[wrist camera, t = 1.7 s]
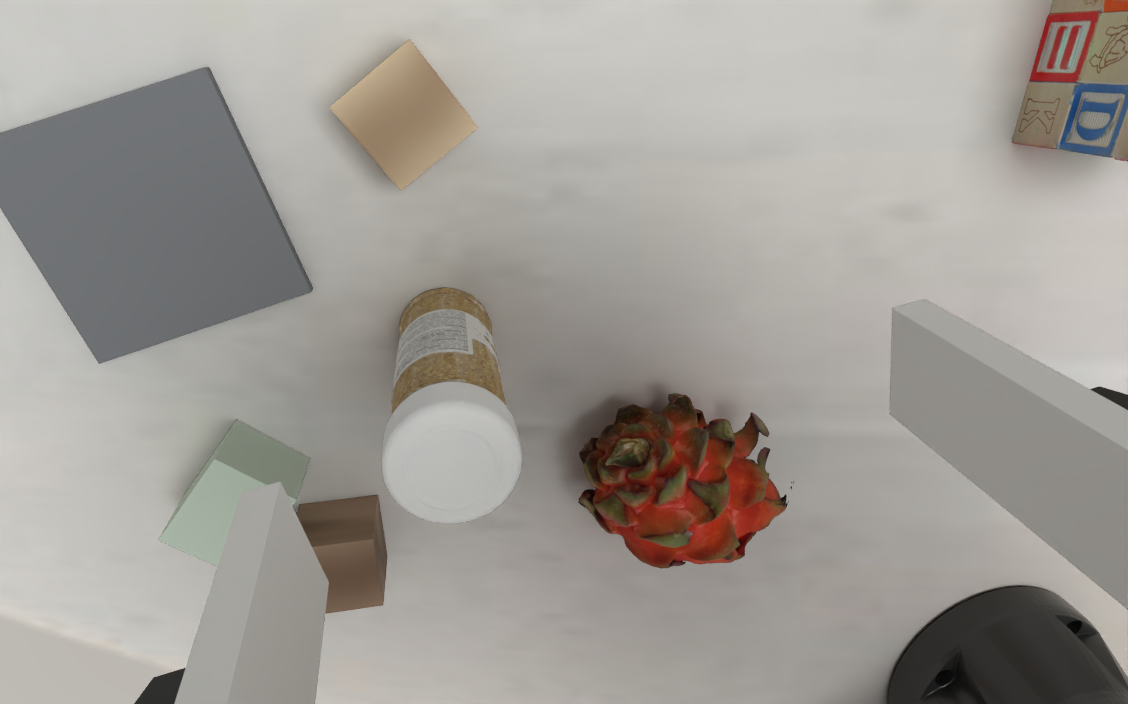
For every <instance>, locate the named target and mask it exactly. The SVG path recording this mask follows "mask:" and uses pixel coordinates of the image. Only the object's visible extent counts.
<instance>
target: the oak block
mask: <svg viewBox="0 0 1128 704" xmlns="http://www.w3.org/2000/svg"><path fill="white" fill-rule="evenodd" d="M329 108H330V109H331V110H332V111H333V113H334V114H335V115H336V116H337V117H338V118H339V120H340V121H341V122H342V123H343V124H344V125H345V127H346V128H347V129H348V130H349V131H350V132H351V134H352V135H353V136H354V137H355V138H356V139H357V141H358V142H359V143H360V144H361V145H362V146H363V148H364V149H365V150H366V151H367V152H368V153H369V155H370V156H371V157H372V158H373V159H374V160H375V162H376V163H377V164H378V165H379V166H380V167H381V169H382V170H383V171H384V172H385V173H386V174H387V176H388V177H389V178H390V179H391V180H392V181H393V183H394V184H395V185H396V186H397V187H398V188H399V190H400V191H401V190H403V189H404V188H405V187H406V186H408V185H409V184H410V183H411V182H412V181H414V180H415V179H416V178H417V177H419V176H420V175H421V174H422V173H423V172H425V171H426V170H427V169H428V168H430V167H431V166H432V165H433V164H434V163H436V162H437V161H438V160H439V159H440V158H442V157H443V156H444V155H445V154H447V153H448V152H449V151H450V150H451V149H453V148H454V147H455V146H456V145H458V144H459V143H460V142H461V141H462V140H464V139H465V138H466V137H467V136H469V135H470V134H471V133H472V132H473V131H475V130H476V129H477V128H478V127H477V125H476V124H475V123H474V121H473V120H472V119H471V118H470V116H469V115H468V114H467V112H466V111H465V110H464V108H463V107H462V106H461V105H460V103H459V102H458V101H457V99H456V98H455V97H454V95H453V94H452V93H451V92H450V90H449V89H448V88H447V86H446V85H445V84H444V82H443V81H442V80H441V79H440V77H439V76H438V75H437V73H436V72H435V71H434V69H433V68H432V67H431V66H430V64H429V63H428V62H427V60H426V59H425V58H424V56H423V55H422V54H421V53H420V51H419V50H418V49H417V47H416V46H415V45H414V43H413V42H412V41H411V40H410V39H409V40H408V41H407V42H406V43H405V44H404V45H402V46H401V47H400V48H399V49H398V50H396V51H395V52H394V53H393V54H392V55H390V56H389V57H388V58H387V59H386V60H385V61H383V62H382V63H381V64H380V65H379V66H377V67H376V68H375V69H374V70H373V71H372V72H370V73H369V74H368V75H367V76H366V77H364V78H363V79H362V80H361V81H360V82H359V83H357V84H356V85H355V86H354V87H353V88H351V89H350V90H349V91H348V92H347V93H346V94H344V95H343V96H342V97H341V98H340V99H338V100H337V101H336V102H335V103H334V104H333V105H331V106H330V107H329Z"/></svg>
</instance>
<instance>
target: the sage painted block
mask: <svg viewBox="0 0 1128 704" xmlns="http://www.w3.org/2000/svg"><path fill="white" fill-rule="evenodd" d="M309 460H310V457H308V456H306V455H304V454H302V453H300V452H298V451H296V450H295V449H293V448H291V447H289V446H287V445H285V444H283V443H281V442H279V441H277V440H275V439H274V438H272V437H270V436H268V435H266V434H264V433H262V432H260V431H258V430H256V429H255V428H253V427H251V426H249V425H247V424H245V423H243V422H241V421H239V420H236V421H235V423H234V424H233V425H232V427H231V428H230V430H229V431H228V433H227V434H226V436H225V437H224V438H223V440H222V441H221V443H220V444H219V446H218V447H217V448H216V450H215V451H214V453H213V454H212V456H211V457H210V458H209V460H208V461H207V463H206V464H205V466H204V467H203V469H202V470H201V471H200V473H199V474H198V476H197V477H196V479H195V480H194V481H193V483H192V484H191V486H190V487H189V489H188V490H187V491H186V493H185V495H184V496H183V498H182V500H181V501H180V503H179V505H178V507H177V508H176V510H175V512H174V514H173V515H172V517H171V519H170V520H169V522H168V524H167V526H166V527H165V529H164V531H163V533H162V534H161V536H160V538H159V539H158V540H159V541H161V542H163V543H165V544H168V545H170V546H172V547H174V548H177V549H179V550H181V551H183V552H186V553H188V554H190V555H192V556H195V557H197V558H199V559H201V560H204V561H206V562H208V563H210V564H213V565H215V566H217V567H218V564H219V561H220V558H221V555H222V552H223V548H224V545H225V542H226V539H227V536H228V533H229V530H230V526H231V523H232V520H233V517H234V514H235V511H236V507H237V504H238V501H239V498H240V495H241V493H242V492H245V491H249V490H252V489H256V488H259V487H263V486H266V485H270V484H273V483H277V482H281V484H282V486H283V488H284V490H285V492H286V494H287V496H288V498H289V500H290V502H291V505H292V506H293V505H294V503H295V502H296V501H297V498H298V495H299V492H300V489H301V485H302V482H303V479H304V476H305V472H306V469H307V466H308V463H309Z"/></svg>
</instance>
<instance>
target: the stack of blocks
mask: <svg viewBox="0 0 1128 704" xmlns="http://www.w3.org/2000/svg"><path fill="white" fill-rule="evenodd" d="M1012 142H1013V143H1015V144H1022V145H1030V146H1037V147H1044V148H1051V149H1063V150H1067V151H1073V152H1079V153H1085V154H1091V155H1098V156H1104V157H1111V158H1114V159H1117V160H1122V161H1128V0H1053V4H1052V7H1051V12H1050V14H1049V15H1048V17H1047V20H1046V24H1045V27H1044V31H1043V34H1042V38H1041V41H1040V45H1039V49H1038V52H1037V56H1036V59H1035V63H1034V66H1033V70H1032V73H1031V77H1030V81H1029V84H1028V86H1027V89H1026V93H1025V96H1024V100H1023V103H1022V107H1021V110H1020V114H1019V118H1018V121H1017V125H1016V128H1015V132H1014V135H1013V139H1012Z"/></svg>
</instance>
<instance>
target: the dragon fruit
mask: <svg viewBox="0 0 1128 704" xmlns="http://www.w3.org/2000/svg"><path fill="white" fill-rule="evenodd" d="M668 400H669V401H670V403H669V404H668V405H667V407H666V408H665V409H664V410H663V411H662V413H660V414H659V413H653V412H652V411H650V410H648V409H646V408H643V407H639V406H636V405H630V406H625V407H623V408H620V409H619V410H618V413H617V416H616V421H615V423H614V425H608V426H607V427H606V428H605V429H604V430H603V431H602V433H601V435H600V437H599V438H591V439H590V441H589V442H588V443H587V444H585V446H584V448H583V450H582V451H581V452H580V453H579V455H580V458H581V460H582V462H583V464H584V469H585V473H586V475H587V477H588V479H589V481H590V482H591V484H592V485H593V486H594V487H596V489H595V490H593V489H591V490H590V489H588V490H585V491H584V492H583V493H582V495H581V497H580V498H579V503H580V504H581V505H583V506H584V507H586V508H587V509H588V510H589V511H590V513H591V514H592V515H593V516H594V517H595V519H596V520H597V522H598V523H599V524H600V526H601V527H602V528H603V529H604V530H605V531H607V532H608V533H611V534H620V535H621V536H623V538H624V540H625V544H626V546H627V548H628V549H629V550H630V551H631V552H632V554H633V555H634V556H636V557H637V558H638V559H639V560H640V561H642V562H644V563H646V564H649V565H651V566H654V567H658V568H669V567H671V566H680V565H683V564H685V563H686V562H683V561H689V562H692V563H695V564H705V563H730V562H733V561H734V560H737V559H740V558H742V557H743V556H744V555H745V546H746V544H747V543H748V542H749V541H750V540H751V538H752V537H753V536H754V535H755V534H756V532H757V531H760V530H762V529H764V528H766V527H767V526H768V525H769V524H770V522H771V521H772V519H773V518H774V517H776V516H777V515H780V513H782V512H783V511H784V510H785V509H786V507H787V504H788V503H786V495H785V496H784V497H782V498H780V496H779V493H778V490H777V489H776V487H775V485H774V484H773V482H772V481H771V480H770V479H769V473H767V472H766V470H765V463H766V459H767V457H768V454H769V452H770V449H768V448H766V447H764V448H763V449H761V451H760V452H759V455H758V459H757V461H758V464H756V463H755V461H753V460H749V459H746V457H747V456H749V455H750V453H751V452H752V450H753V449H754V448H755V446H756V444H757V441H758V435H759V432H760V433H761V434H762V435H764V436H767V437H768V436H769V431H768V429H767V427H766V426H765V424H764V423H763V421H762V420H761V419H760V418H759V417H758V416H757V415H755V414H754V413H750V417H749V419H748V421H747V422H746V423H745V426H744V427H743V429H741V430H740V431H738V432H737V433H733V431H732V428H731V424H730V422H729V421H728V420H726V419H715V420H713V421H711V422H709V424H708V425H706V422H705V419H704V415H703V412H702V411H700V410H697V409H694V407H693V405H692V402H691V400H690V398H689V397H687V396H686V395H681V394H677V393H674V394H669V396H668ZM791 483H792V482H791ZM793 483H794V482H793ZM792 486H793V485H792ZM791 489H792V487H791ZM788 502H789V501H788Z"/></svg>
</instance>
